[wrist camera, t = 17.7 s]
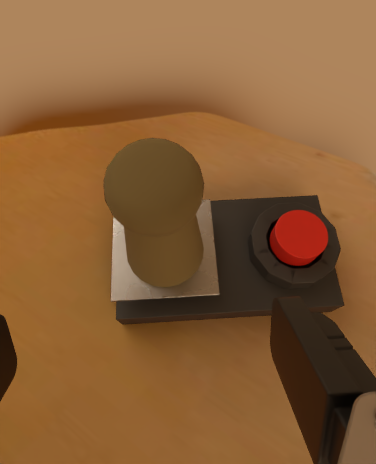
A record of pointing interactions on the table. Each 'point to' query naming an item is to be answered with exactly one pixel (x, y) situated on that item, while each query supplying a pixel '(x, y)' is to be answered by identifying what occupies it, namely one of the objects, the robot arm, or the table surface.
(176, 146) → the olive pawn piece
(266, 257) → the machine
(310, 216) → the button
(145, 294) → the plate
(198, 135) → the table surface
